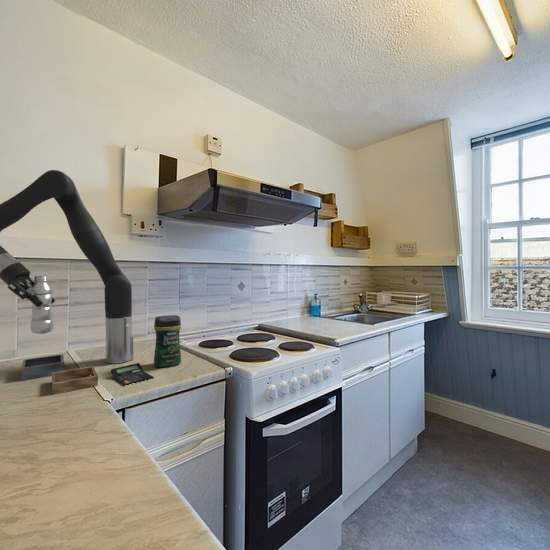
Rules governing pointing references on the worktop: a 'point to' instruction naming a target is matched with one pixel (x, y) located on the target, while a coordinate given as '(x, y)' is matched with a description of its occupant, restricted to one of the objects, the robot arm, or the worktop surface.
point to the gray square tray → (41, 367)
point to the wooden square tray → (75, 383)
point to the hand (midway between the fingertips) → (47, 303)
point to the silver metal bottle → (42, 307)
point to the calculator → (130, 374)
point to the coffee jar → (167, 341)
